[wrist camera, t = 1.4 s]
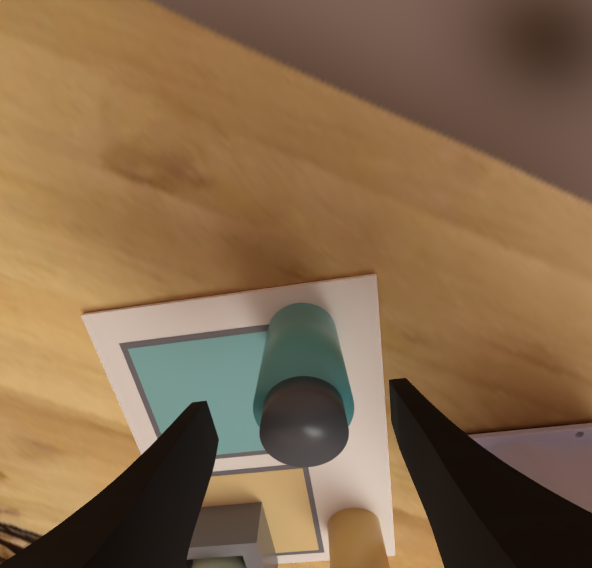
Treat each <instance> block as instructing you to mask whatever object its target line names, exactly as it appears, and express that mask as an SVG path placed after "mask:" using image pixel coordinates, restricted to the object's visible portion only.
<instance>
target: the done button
mask: <svg viewBox="0 0 592 568" xmlns="http://www.w3.org/2000/svg"><path fill="white" fill-rule="evenodd" d="M191 568H247V567H246V564H245V561H244V558H243V556H230V557H216V558H202V559H194V560H193V564H192V567H191Z"/></svg>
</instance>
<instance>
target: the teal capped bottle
mask: <svg viewBox="0 0 592 568" xmlns="http://www.w3.org/2000/svg"><path fill="white" fill-rule="evenodd" d="M253 414H254V418H255V421H256V423H257V425H258V426H259V428H260V429H259V436H260V441H261V444H262V446H263V447H264V449H265V450H266V452H267V453H268V454H269V455H270V456H272V457H273V458H274V459H276V460H277V461H279V462H281V463H283V464H286V465H290V466H294V467H314V466H318V465H322V464H325V463H327V462H329V461H331V460H333V459H334V458H335V457H337V456H338V455H339V454H340V453H341V452H342V451H343V449H344V448H345V446H346V444H347V441H348V438H349V428H348V426H349V425H350V423H351V421H352V418H353V415H354V400H353V396H352V392H351V387H350V383H349V379H348V375H347V371H346V367H345V363H344V359H343V355H342V351H341V346H340V342H339V338H338V334H337V330H336V326H335V323H334V321H333V319H332V317H331V316H330V315H329V314H328V313H327V312H326V311H325V310H324V309H322V308H321V307H319V306H316V305H314V304H310V303H295V304H291V305H288V306H286V307H284V308H282V309H280V310H279V311H278V312H277V313H276V314H275V315H274V316H273V318H272V319H271V321H270V323H269V326H268V331H267V336H266V341H265V346H264V351H263V356H262V361H261V366H260V371H259V376H258V381H257V386H256V391H255V396H254V402H253Z"/></svg>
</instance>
